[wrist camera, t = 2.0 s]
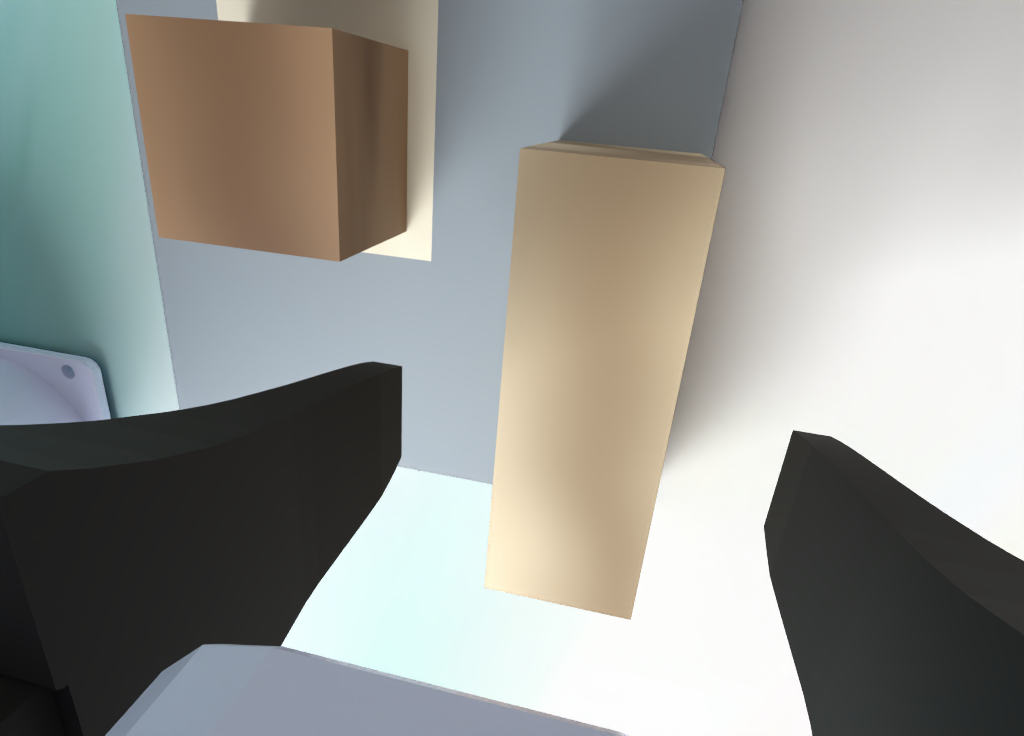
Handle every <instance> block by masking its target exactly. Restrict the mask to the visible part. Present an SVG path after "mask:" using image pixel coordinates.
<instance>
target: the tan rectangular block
mask: <svg viewBox="0 0 1024 736" xmlns="http://www.w3.org/2000/svg"><path fill="white" fill-rule="evenodd" d="M725 169H726V168H724V167H722V166H721V165H719V164H718V163H716V162H714V161H713V160H711V159H709V158H708V157H706V156H705V155H703V154H699V153H689V152H678V151H668V150H657V149H647V148H636V147H626V146H615V145H605V144H594V143H583V142H573V141H562V140H557V141H552V142H547V143H543V144H538V145H533V146H528V147H524V148H520V154H519V166H518V179H517V191H516V203H515V216H514V228H513V241H512V253H511V265H510V278H509V290H508V303H507V315H506V327H505V340H504V352H503V364H502V377H501V389H500V402H499V414H498V426H497V439H496V451H495V463H494V476H493V488H492V501H491V513H490V525H489V538H488V550H487V562H486V575H485V587H484V588H488V589H493V590H497V591H502V592H506V593H511V594H516V595H520V596H525V597H529V598H534V599H538V600H543V601H548V602H552V603H557V604H561V605H566V606H570V607H575V608H579V609H584V610H589V611H593V612H598V613H602V614H607V615H611V616H616V617H621V618H625V619H630V620H631V615H632V610H633V606H634V601H635V596H636V591H637V587H638V582H639V577H640V572H641V568H642V563H643V558H644V553H645V549H646V544H647V539H648V535H649V530H650V525H651V520H652V516H653V511H654V506H655V501H656V497H657V492H658V487H659V482H660V478H661V473H662V468H663V463H664V459H665V454H666V449H667V444H668V440H669V435H670V430H671V425H672V421H673V416H674V411H675V406H676V402H677V397H678V392H679V387H680V383H681V378H682V373H683V368H684V364H685V359H686V354H687V349H688V345H689V340H690V335H691V330H692V326H693V321H694V316H695V312H696V307H697V302H698V297H699V293H700V288H701V283H702V278H703V274H704V269H705V264H706V259H707V255H708V250H709V245H710V240H711V236H712V231H713V226H714V221H715V217H716V212H717V207H718V202H719V198H720V193H721V188H722V183H723V179H724V174H725Z"/></svg>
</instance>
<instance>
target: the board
mask: <svg viewBox="0 0 1024 736" xmlns="http://www.w3.org/2000/svg"><path fill="white" fill-rule="evenodd" d="M116 3H117V10H118V16H119V22H120V29H121V35H122V42H123V48H124V55H125V61H126V68H127V74H128V80H129V87H130V93H131V100H132V106H133V113H134V119H135V126H136V132H137V139H138V145H139V151H140V158H141V164H142V171H143V177H144V184H145V190H146V197H147V203H148V209H149V216H150V222H151V229H152V235H153V242H154V248H155V255H156V261H157V268H158V274H159V280H160V287H161V293H162V300H163V306H164V313H165V319H166V326H167V332H168V338H169V345H170V351H171V358H172V364H173V371H174V377H175V384H176V390H177V397H178V403H179V409H180V410H182V409H187V408H193V407H198V406H204V405H209V404H213V403H218V402H223V401H227V400H231V399H236V398H240V397H243V396H247V395H251V394H254V393H258V392H262V391H265V390H269V389H273V388H276V387H280V386H284V385H287V384H291V383H294V382H297V381H300V380H304V379H307V378H310V377H314V376H317V375H320V374H323V373H327V372H330V371H333V370H337V369H340V368H344V367H347V366H351V365H355V364H359V363H364V362H372V361H374V362H380V363H386V364H392V365H398V366H402V457H401V459H400V461H399V463H398V465H397V466H399V467H405V468H410V469H415V470H420V471H426V472H431V473H436V474H441V475H447V476H452V477H457V478H462V479H468V480H473V481H478V482H483V483H489V484H493V476H494V463H495V451H496V439H497V426H498V414H499V402H500V389H501V377H502V364H503V352H504V340H505V327H506V315H507V303H508V290H509V278H510V265H511V253H512V241H513V228H514V216H515V203H516V191H517V179H518V166H519V154H520V148H524V147H528V146H533V145H538V144H543V143H547V142H552V141H557V140H562V141H573V142H583V143H594V144H605V145H615V146H626V147H636V148H647V149H657V150H668V151H678V152H689V153H699V154H703V155H705V156H706V157H708V158H709V159H712V154H713V149H714V144H715V139H716V134H717V129H718V124H719V119H720V114H721V109H722V104H723V99H724V94H725V89H726V84H727V79H728V74H729V69H730V64H731V59H732V54H733V49H734V44H735V39H736V34H737V29H738V24H739V19H740V14H741V9H742V4H743V0H116ZM125 14H135V15H149V16H164V17H178V18H193V19H207V20H222V21H236V22H251V23H265V24H279V25H294V26H308V27H323V28H333V29H337V30H340V31H343V32H347V33H350V34H354V35H357V36H360V37H364V38H367V39H371V40H374V41H378V42H381V43H384V44H388V45H391V46H395V47H398V48H401V49H405V50H408V128H407V219H406V232H404V233H402V234H400V235H398V236H395V237H393V238H391V239H389V240H387V241H384V242H382V243H380V244H378V245H376V246H373V247H371V248H369V249H367V250H365V251H362V252H360V253H358V254H356V255H354V256H351V257H349V258H347V259H345V260H343V261H340V262H337V261H330V260H323V259H315V258H308V257H300V256H293V255H286V254H278V253H271V252H263V251H256V250H249V249H241V248H234V247H227V246H219V245H212V244H204V243H197V242H190V241H182V240H175V239H168V238H160V237H159V236H158V229H157V223H156V216H155V210H154V203H153V196H152V190H151V183H150V177H149V170H148V163H147V157H146V150H145V143H144V137H143V130H142V124H141V117H140V110H139V104H138V97H137V91H136V84H135V77H134V71H133V64H132V57H131V51H130V44H129V38H128V31H127V24H126V18H125Z"/></svg>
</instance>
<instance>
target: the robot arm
mask: <svg viewBox="0 0 1024 736" xmlns="http://www.w3.org/2000/svg"><path fill="white" fill-rule="evenodd" d="M401 457H402V366H398V365H392V364H386V363H380V362H374V361H372V362H364V363H359V364H355V365H351V366H347V367H344V368H340V369H337V370H333V371H330V372H327V373H323V374H320V375H317V376H314V377H310V378H307V379H304V380H300V381H297V382H294V383H291V384H287V385H284V386H280V387H276V388H273V389H269V390H265V391H262V392H258V393H254V394H251V395H247V396H243V397H240V398H236V399H231V400H227V401H223V402H218V403H213V404H209V405H204V406H198V407H193V408H187V409H182V410H177V411H170V412H164V413H156V414H148V415H139V416H131V417H123V418H115V419H111V417H110V412H109V407H108V402H107V398H106V393H105V388H104V383H103V378H102V373H101V370H100V367H99V366H98V365H97V363H96V362H94V361H93V360H92V359H90V358H87V357H82V356H77V355H71V354H65V353H59V352H54V351H48V350H42V349H37V348H31V347H25V346H20V345H14V344H8V343H2V342H0V736H627V735H625V734H623V733H620V732H617V731H613V730H609V729H605V728H601V727H598V726H594V725H590V724H586V723H582V722H578V721H574V720H570V719H566V718H562V717H558V716H554V715H550V714H546V713H542V712H538V711H534V710H530V709H527V708H523V707H519V706H515V705H511V704H507V703H503V702H499V701H495V700H491V699H487V698H483V697H479V696H475V695H471V694H467V693H463V692H460V691H456V690H452V689H448V688H444V687H440V686H436V685H432V684H428V683H424V682H420V681H416V680H412V679H408V678H404V677H400V676H396V675H392V674H389V673H385V672H381V671H377V670H373V669H369V668H365V667H361V666H357V665H353V664H349V663H345V662H341V661H337V660H333V659H329V658H325V657H322V656H318V655H314V654H310V653H306V652H302V651H298V650H294V649H290V648H286V647H282V646H281V645H282V643H283V641H284V639H285V638H286V636H287V634H288V632H289V631H290V629H291V627H292V626H293V624H294V622H295V620H296V619H297V617H298V615H299V613H300V612H301V610H302V608H303V606H304V605H305V603H306V601H307V600H308V598H309V597H310V595H311V594H312V592H313V591H314V589H315V588H316V586H317V585H318V583H319V582H320V581H321V579H322V578H323V576H324V575H325V574H326V572H327V571H328V570H329V568H330V567H331V566H332V564H333V563H334V561H335V560H336V559H337V557H338V556H339V555H340V553H341V552H342V550H343V549H344V548H345V546H346V545H347V544H348V542H349V541H350V540H351V538H352V537H353V535H354V534H355V533H356V531H357V530H358V529H359V527H360V526H361V525H362V523H363V522H364V520H365V519H366V518H367V516H368V515H369V513H370V512H371V511H372V509H373V508H374V506H375V505H376V503H377V502H378V501H379V499H380V498H381V496H382V494H383V492H384V491H385V489H386V487H387V485H388V483H389V481H390V479H391V478H392V475H393V473H394V471H395V469H396V467H397V465H398V463H399V461H400V459H401ZM764 531H765V540H766V549H767V557H768V565H769V572H770V577H771V581H772V585H773V589H774V592H775V596H776V600H777V603H778V607H779V610H780V614H781V618H782V621H783V625H784V628H785V632H786V635H787V639H788V642H789V645H790V649H791V652H792V656H793V659H794V663H795V666H796V670H797V673H798V677H799V680H800V684H801V687H802V691H803V694H804V698H805V703H806V707H807V711H808V715H809V720H810V724H811V729H812V735H813V736H1024V561H1023V560H1021V559H1019V558H1017V557H1015V556H1013V555H1012V554H1010V553H1008V552H1006V551H1005V550H1003V549H1001V548H1000V547H998V546H996V545H995V544H993V543H991V542H989V541H988V540H986V539H985V538H983V537H981V536H980V535H978V534H977V533H975V532H973V531H972V530H970V529H969V528H967V527H966V526H964V525H962V524H961V523H959V522H958V521H956V520H955V519H953V518H951V517H950V516H948V515H947V514H945V513H944V512H942V511H941V510H939V509H938V508H936V507H935V506H933V505H932V504H930V503H929V502H927V501H926V500H924V499H923V498H922V497H920V496H919V495H917V494H916V493H914V492H913V491H911V490H910V489H909V488H907V487H906V486H904V485H903V484H901V483H900V482H899V481H897V480H896V479H894V478H893V477H892V476H890V475H889V474H887V473H886V472H885V471H883V470H882V469H880V468H879V467H877V466H876V465H875V464H873V463H872V462H870V461H869V460H868V459H866V458H865V457H863V456H862V455H860V454H859V453H857V452H856V451H854V450H853V449H851V448H850V447H848V446H847V445H845V444H844V443H842V442H840V441H838V440H836V439H834V438H832V437H830V436H824V435H818V434H812V433H806V432H800V431H794V430H793V432H792V436H791V439H790V442H789V445H788V449H787V452H786V455H785V459H784V462H783V465H782V468H781V472H780V475H779V478H778V482H777V485H776V488H775V492H774V495H773V498H772V501H771V505H770V508H769V511H768V515H767V518H766V521H765V525H764Z"/></svg>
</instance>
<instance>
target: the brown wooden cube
mask: <svg viewBox="0 0 1024 736" xmlns="http://www.w3.org/2000/svg"><path fill="white" fill-rule="evenodd" d="M125 18H126V24H127V31H128V38H129V44H130V51H131V57H132V64H133V71H134V77H135V84H136V91H137V97H138V104H139V110H140V117H141V124H142V130H143V137H144V143H145V150H146V157H147V163H148V170H149V177H150V183H151V190H152V196H153V203H154V210H155V216H156V223H157V229H158V236H159V237H160V238H168V239H175V240H182V241H190V242H197V243H204V244H212V245H219V246H227V247H234V248H241V249H249V250H256V251H263V252H271V253H278V254H286V255H293V256H300V257H308V258H315V259H323V260H330V261H337V262H340V261H343V260H345V259H347V258H349V257H351V256H354V255H356V254H358V253H360V252H362V251H365V250H367V249H369V248H371V247H373V246H376V245H378V244H380V243H382V242H384V241H387V240H389V239H391V238H393V237H395V236H398V235H400V234H402V233H404V232H406V219H407V128H408V50H405V49H401V48H398V47H395V46H391V45H388V44H384V43H381V42H378V41H374V40H371V39H367V38H364V37H360V36H357V35H354V34H350V33H347V32H343V31H340V30H337V29H333V28H323V27H308V26H294V25H279V24H265V23H251V22H236V21H222V20H207V19H193V18H178V17H164V16H149V15H135V14H125Z"/></svg>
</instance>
